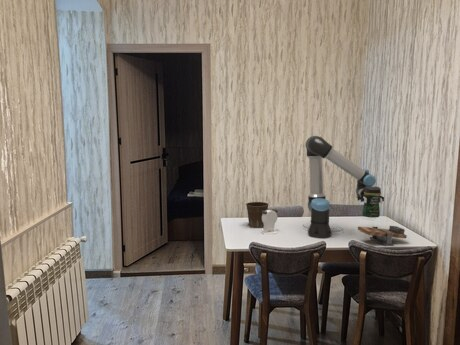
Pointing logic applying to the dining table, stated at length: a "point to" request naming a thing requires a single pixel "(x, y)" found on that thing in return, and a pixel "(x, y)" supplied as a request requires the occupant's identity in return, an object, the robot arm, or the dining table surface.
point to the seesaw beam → (384, 231)
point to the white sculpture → (269, 221)
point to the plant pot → (256, 213)
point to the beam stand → (383, 239)
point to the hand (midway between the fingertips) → (373, 201)
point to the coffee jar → (372, 202)
